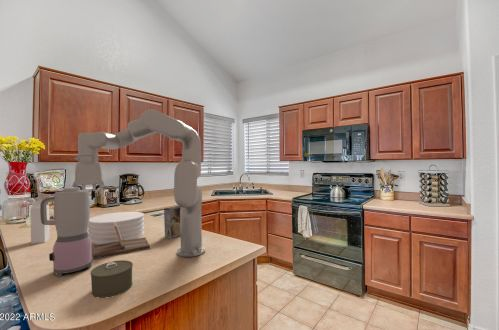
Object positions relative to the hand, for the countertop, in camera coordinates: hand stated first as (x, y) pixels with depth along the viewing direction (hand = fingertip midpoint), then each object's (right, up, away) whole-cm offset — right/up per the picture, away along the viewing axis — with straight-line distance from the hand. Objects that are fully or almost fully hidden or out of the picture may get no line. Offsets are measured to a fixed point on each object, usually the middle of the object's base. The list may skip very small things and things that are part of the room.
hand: (89, 199), depth 109 cm
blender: (+4, -25, -17) cm, 31 cm away
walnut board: (+11, -25, +7) cm, 28 cm away
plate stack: (-2, -26, +28) cm, 38 cm away
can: (+29, -25, -31) cm, 49 cm away
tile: (+10, -18, +6) cm, 21 cm away
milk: (-40, -26, +20) cm, 52 cm away
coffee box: (+31, -25, +27) cm, 48 cm away
